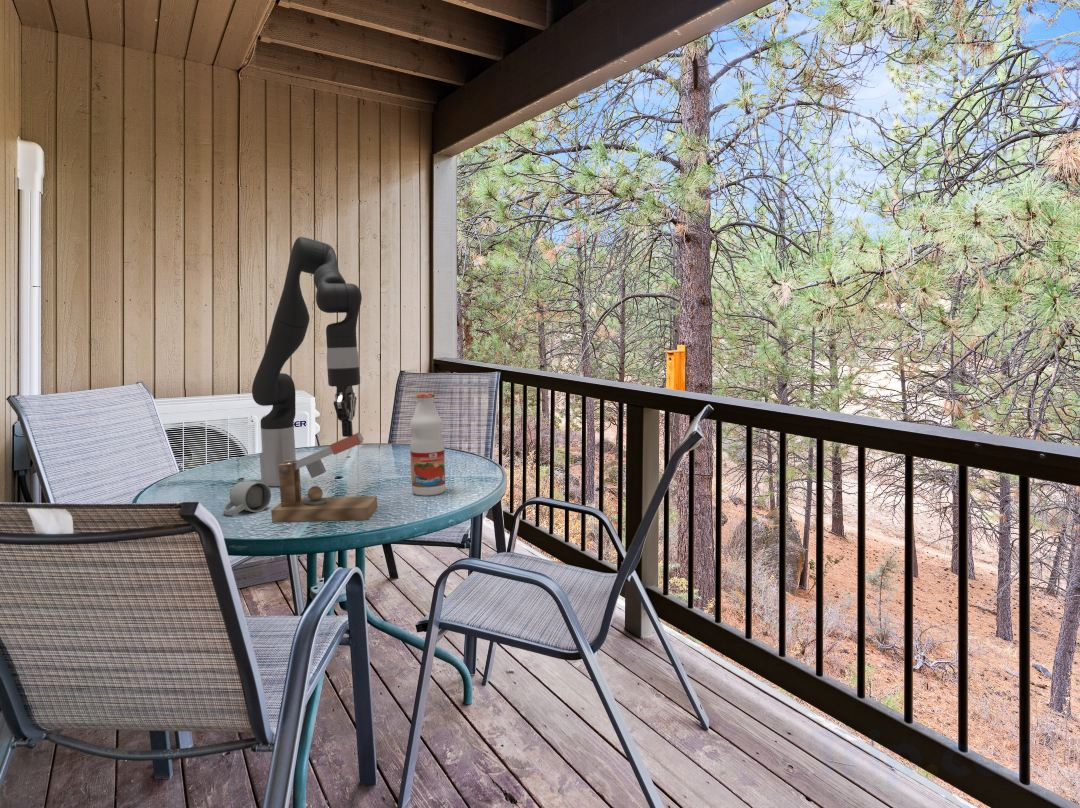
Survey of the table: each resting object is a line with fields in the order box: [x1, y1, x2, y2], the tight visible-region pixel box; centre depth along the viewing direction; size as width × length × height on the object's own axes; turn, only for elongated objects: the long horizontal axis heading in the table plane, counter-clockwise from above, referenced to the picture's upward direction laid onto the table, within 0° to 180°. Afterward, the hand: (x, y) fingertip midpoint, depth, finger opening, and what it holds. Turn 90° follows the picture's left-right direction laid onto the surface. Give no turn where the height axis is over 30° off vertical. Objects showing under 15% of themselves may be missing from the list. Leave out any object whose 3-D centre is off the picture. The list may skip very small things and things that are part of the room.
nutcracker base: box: [270, 459, 378, 523], centre depth 165 cm, size 23×11×14 cm, turn 92°
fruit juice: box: [409, 392, 446, 497], centre depth 186 cm, size 9×9×28 cm
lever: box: [286, 432, 364, 479], centre depth 165 cm, size 21×3×6 cm, turn 90°
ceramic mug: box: [222, 480, 272, 517], centre depth 170 cm, size 11×8×8 cm
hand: (347, 436), depth 164 cm, fingers closed
